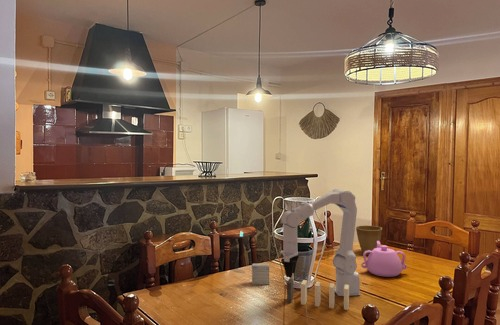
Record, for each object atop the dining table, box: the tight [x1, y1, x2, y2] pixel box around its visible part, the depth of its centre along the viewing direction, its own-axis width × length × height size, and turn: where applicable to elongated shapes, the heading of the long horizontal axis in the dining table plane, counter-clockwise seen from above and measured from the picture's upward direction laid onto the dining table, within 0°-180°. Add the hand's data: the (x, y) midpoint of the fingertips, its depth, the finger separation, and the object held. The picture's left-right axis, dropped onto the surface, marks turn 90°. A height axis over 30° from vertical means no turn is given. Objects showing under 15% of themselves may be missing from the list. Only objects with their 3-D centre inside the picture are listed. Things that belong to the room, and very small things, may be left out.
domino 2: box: [300, 279, 308, 306], centre depth 144 cm, size 2×5×8 cm, turn 162°
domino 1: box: [286, 278, 294, 304], centre depth 146 cm, size 2×5×8 cm, turn 161°
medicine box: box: [251, 262, 270, 286], centre depth 166 cm, size 8×4×9 cm, turn 92°
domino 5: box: [343, 285, 350, 311], centre depth 139 cm, size 2×5×8 cm, turn 162°
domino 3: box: [314, 281, 322, 307], centre depth 142 cm, size 2×5×8 cm, turn 162°
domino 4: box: [328, 282, 336, 309], centre depth 141 cm, size 2×5×8 cm, turn 162°
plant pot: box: [355, 225, 383, 257], centre depth 216 cm, size 15×15×16 cm
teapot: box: [361, 240, 408, 278], centre depth 182 cm, size 22×22×14 cm
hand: (290, 274), depth 146 cm, fingers open, 5 cm apart
